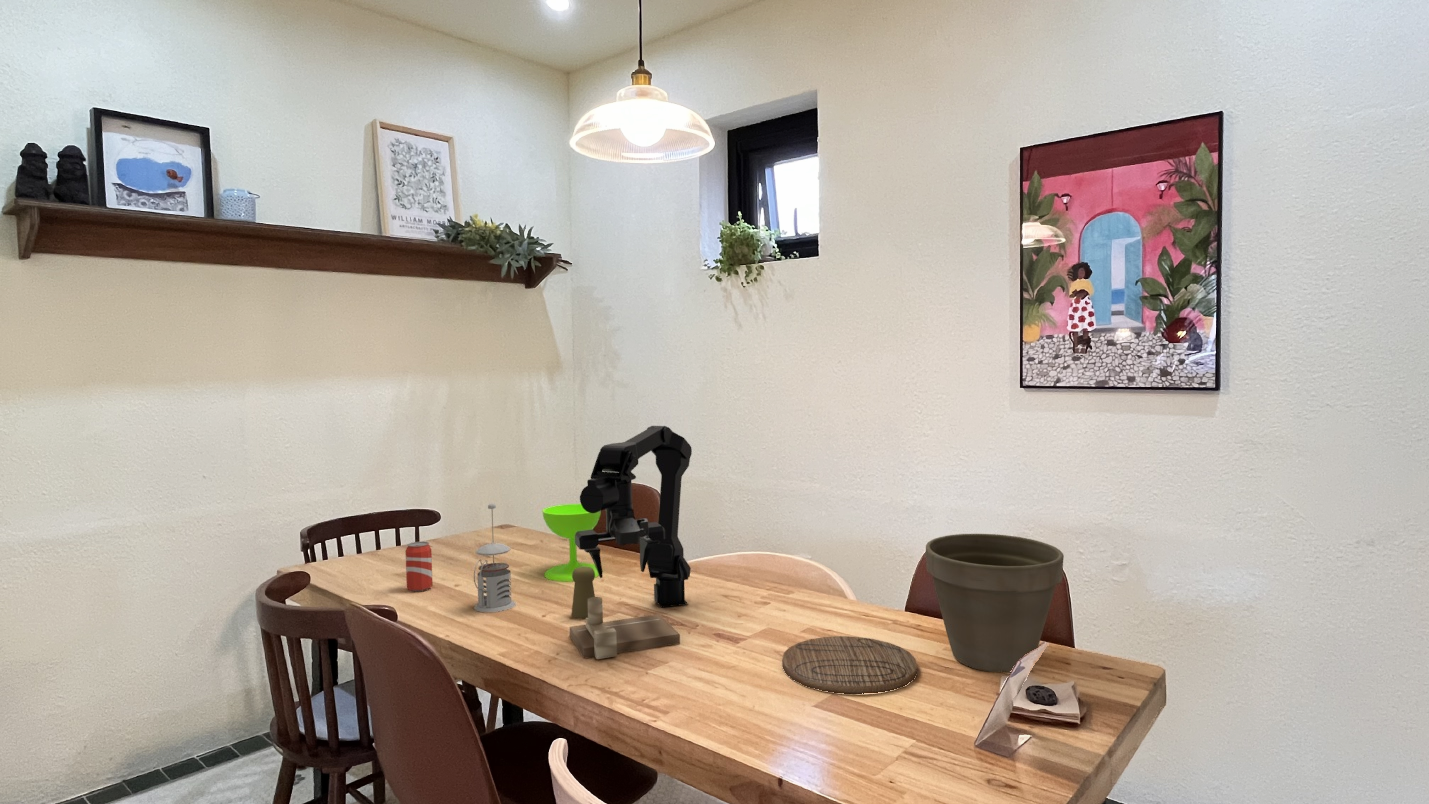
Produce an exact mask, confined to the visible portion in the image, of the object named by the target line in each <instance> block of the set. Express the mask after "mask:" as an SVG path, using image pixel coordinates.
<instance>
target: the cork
mask: <svg viewBox="0 0 1429 804" xmlns="http://www.w3.org/2000/svg"><path fill="white" fill-rule="evenodd" d="M572 578H573V581H572V582H574V586H573V596H572V597H573V598H572V607H571V618H574V619H580V620H586V618H588V598H591V597H596V593H595V588H594V580H595V578H596V577H595V572H594V570H593V568H591V567H578V568H576V569H574V571H573V573H572Z"/></svg>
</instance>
